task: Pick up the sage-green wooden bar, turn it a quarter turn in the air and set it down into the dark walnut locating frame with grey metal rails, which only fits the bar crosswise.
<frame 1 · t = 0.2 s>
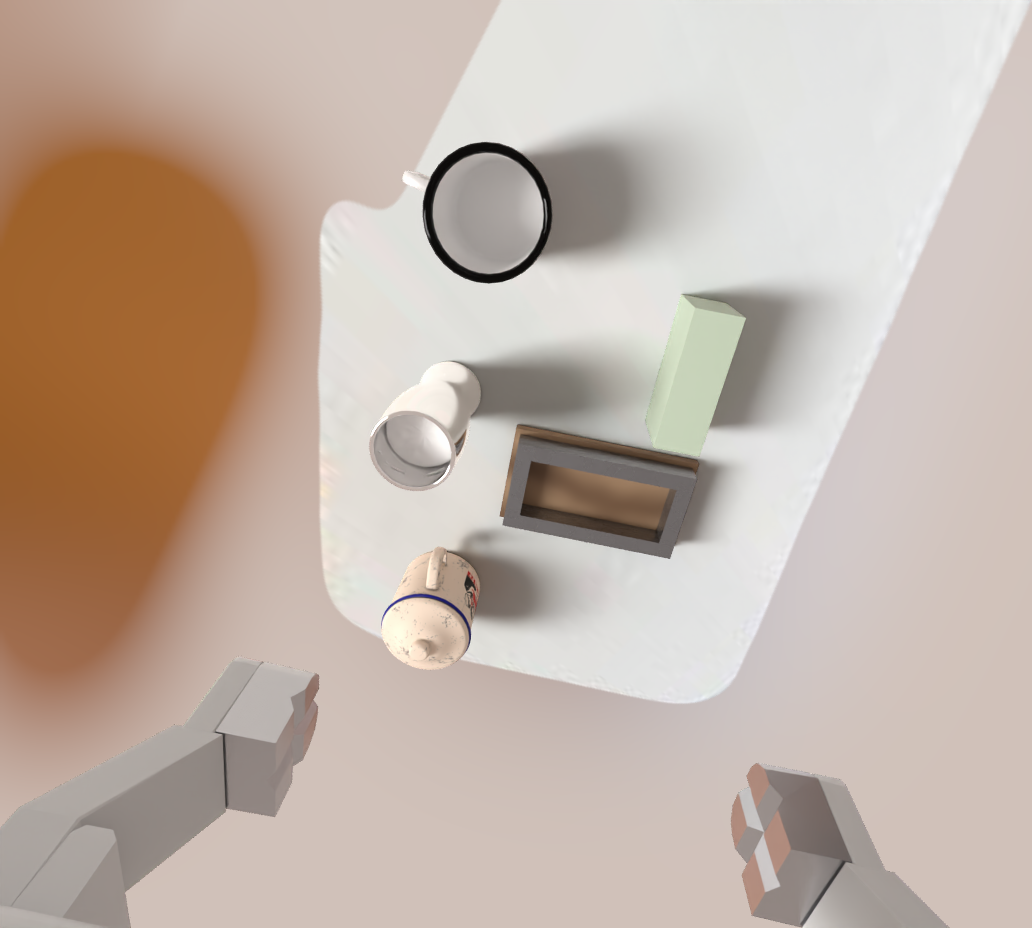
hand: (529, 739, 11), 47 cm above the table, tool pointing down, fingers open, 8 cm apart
teacup with lid: (444, 570, 67), on the table
white tumbler: (450, 390, 58), on the table
mug: (487, 206, 51), on the table
locating frame: (595, 486, 61), on the table
green bar: (683, 363, 55), on the table
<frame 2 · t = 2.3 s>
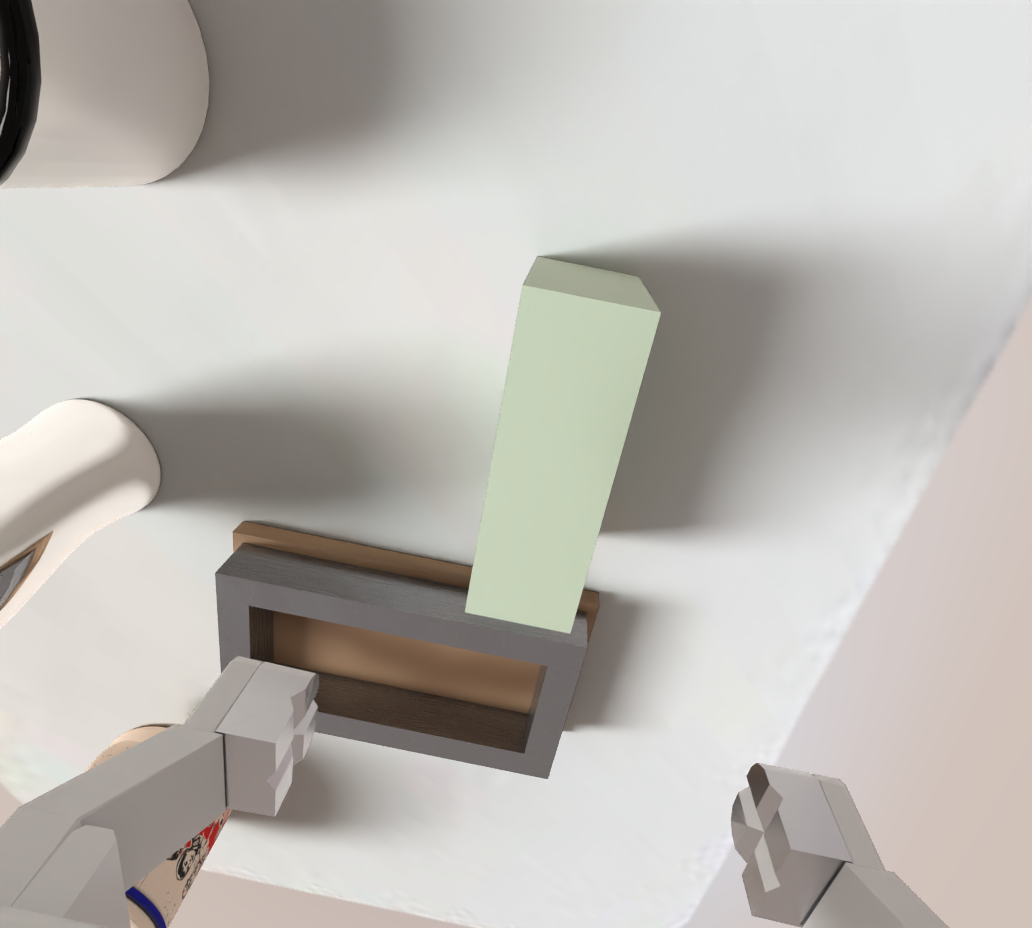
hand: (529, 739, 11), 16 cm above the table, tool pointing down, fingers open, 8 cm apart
teacup with lid: (176, 752, 38), on the table
white tumbler: (103, 456, 29), on the table
mug: (70, 44, 22), on the table
locating frame: (410, 633, 32), on the table
green bar: (556, 408, 26), on the table
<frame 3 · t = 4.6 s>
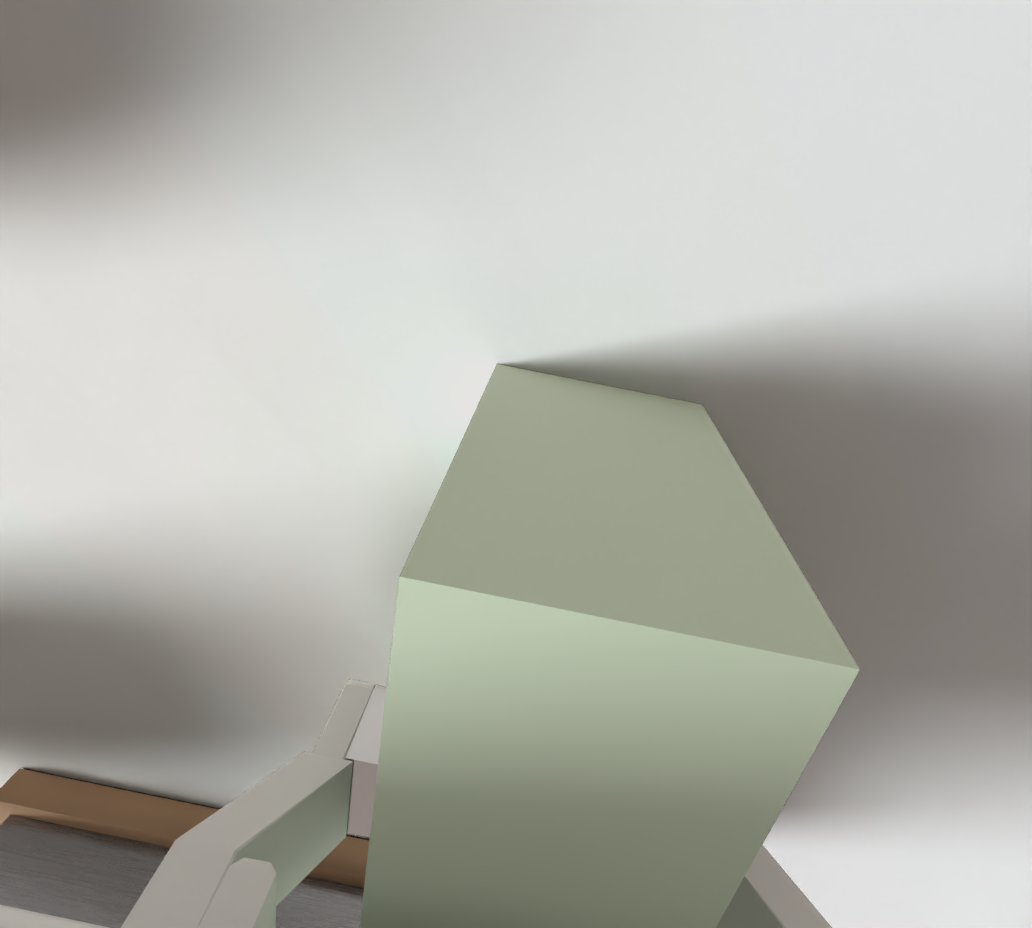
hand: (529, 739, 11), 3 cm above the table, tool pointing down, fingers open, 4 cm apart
locating frame: (310, 924, 20), on the table
green bar: (539, 627, 14), on the table
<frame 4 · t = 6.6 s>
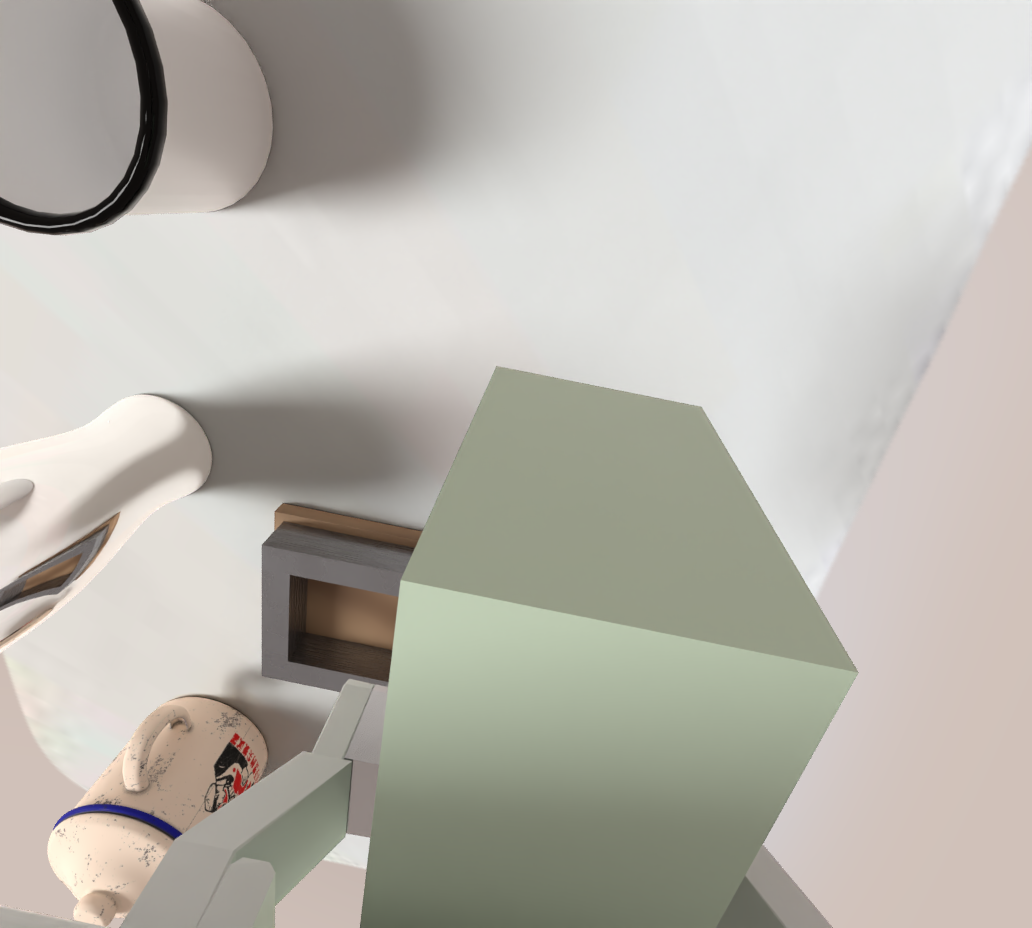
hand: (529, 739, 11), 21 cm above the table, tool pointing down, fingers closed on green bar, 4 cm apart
teacup with lid: (210, 723, 42), on the table
white tumbler: (161, 445, 33), on the table
mug: (157, 97, 26), on the table
locating frame: (428, 605, 36), on the table
green bar: (538, 628, 14), point 17 cm above the table, touching gripper
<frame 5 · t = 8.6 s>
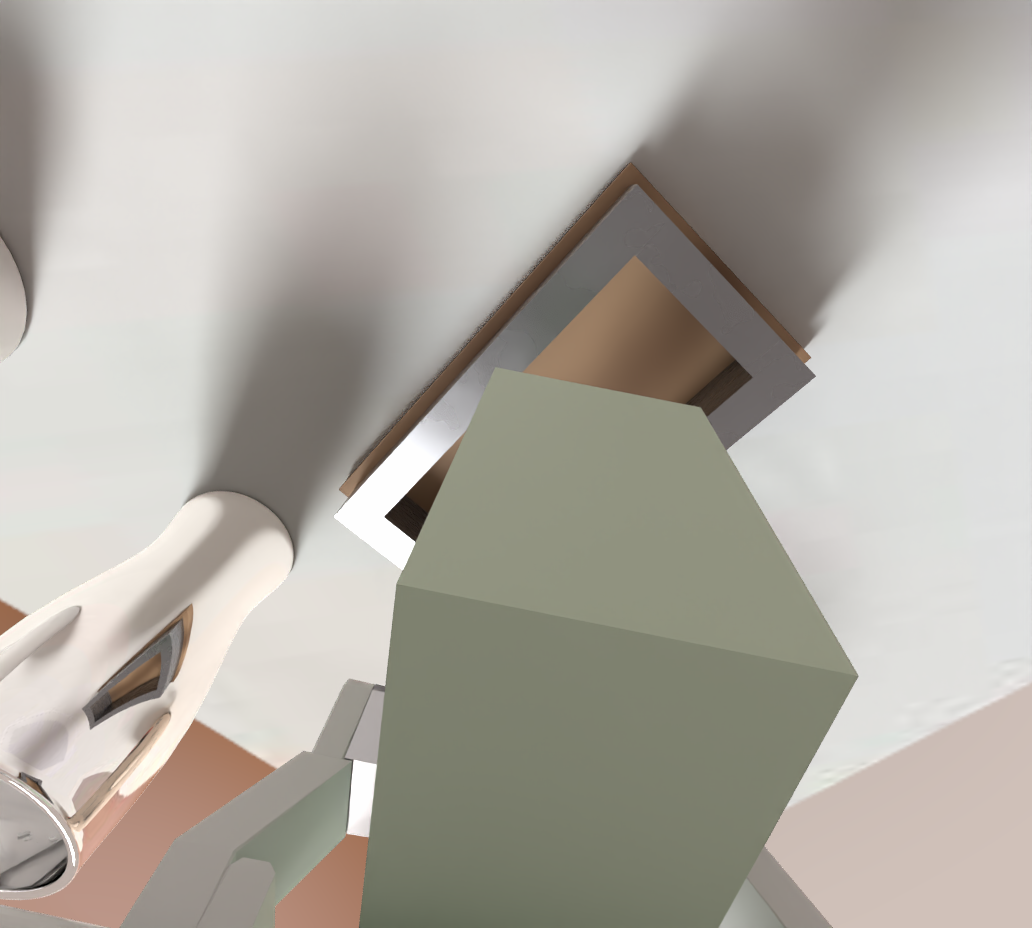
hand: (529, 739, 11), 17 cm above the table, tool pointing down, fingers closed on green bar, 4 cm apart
white tumbler: (238, 541, 31), on the table
locating frame: (555, 420, 26), on the table
green bar: (538, 630, 14), point 13 cm above the table, touching gripper
when the fingers open (5 cm above the table, at t = 11.9 s): green bar drops 1 cm, resting on locating frame.
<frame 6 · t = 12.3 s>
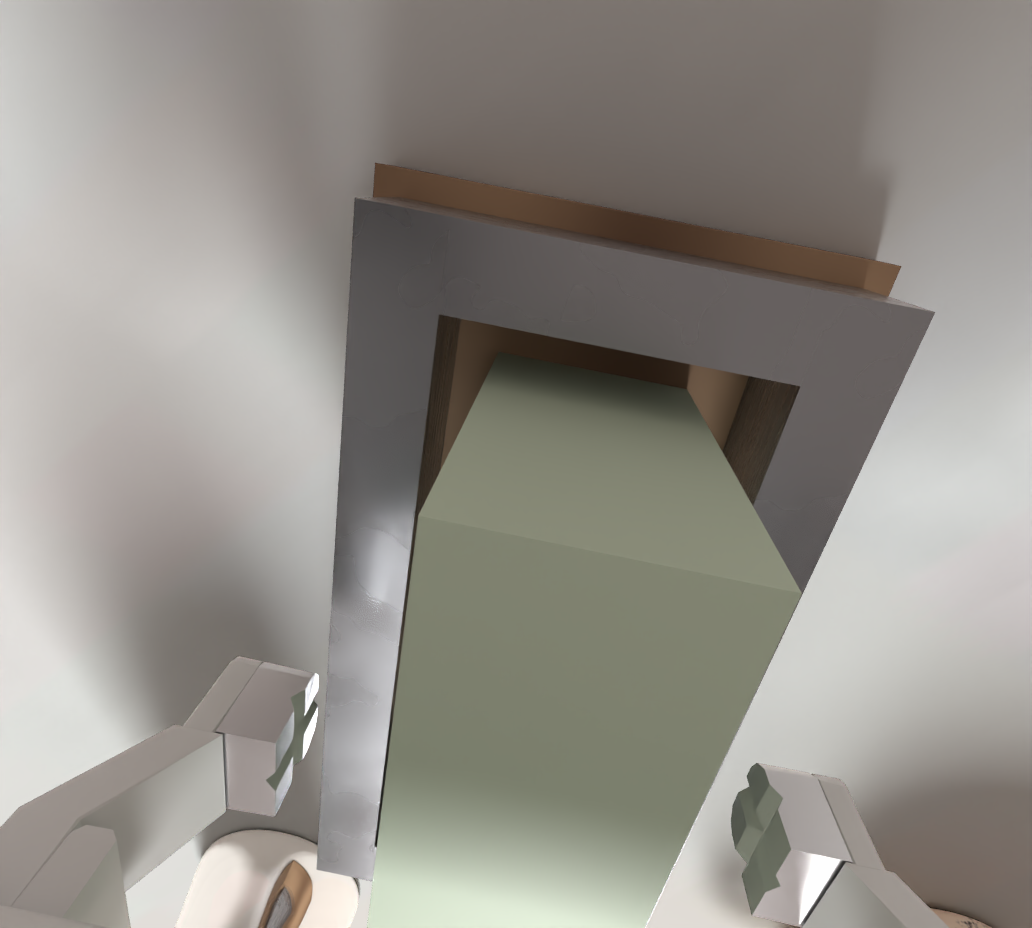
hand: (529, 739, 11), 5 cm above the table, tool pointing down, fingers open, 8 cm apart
white tumbler: (283, 875, 23), on the table
locating frame: (545, 574, 16), on the table
green bar: (537, 599, 15), point 1 cm above the table, touching locating frame
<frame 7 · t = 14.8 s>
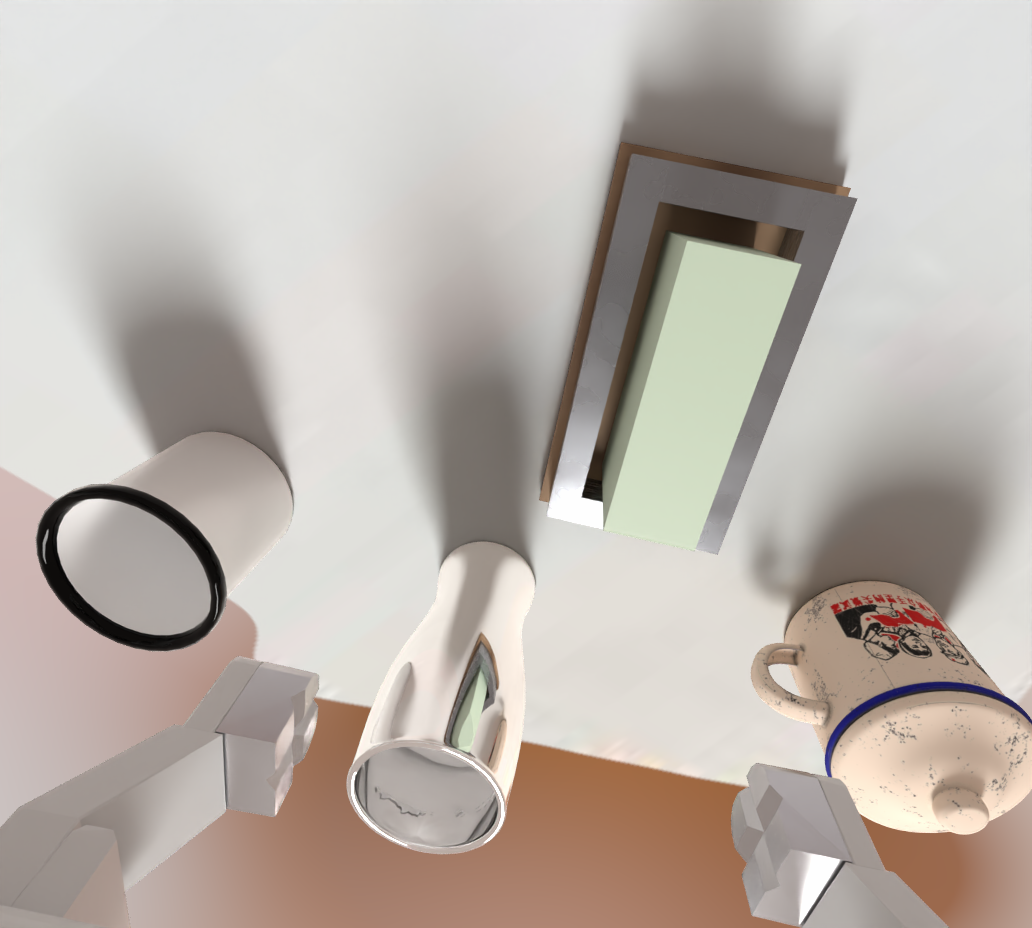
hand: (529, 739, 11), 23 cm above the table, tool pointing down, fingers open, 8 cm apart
teacup with lid: (832, 630, 36), on the table
white tumbler: (487, 580, 38), on the table
mug: (228, 507, 38), on the table
locating frame: (671, 360, 31), on the table
green bar: (671, 366, 30), point 1 cm above the table, touching locating frame
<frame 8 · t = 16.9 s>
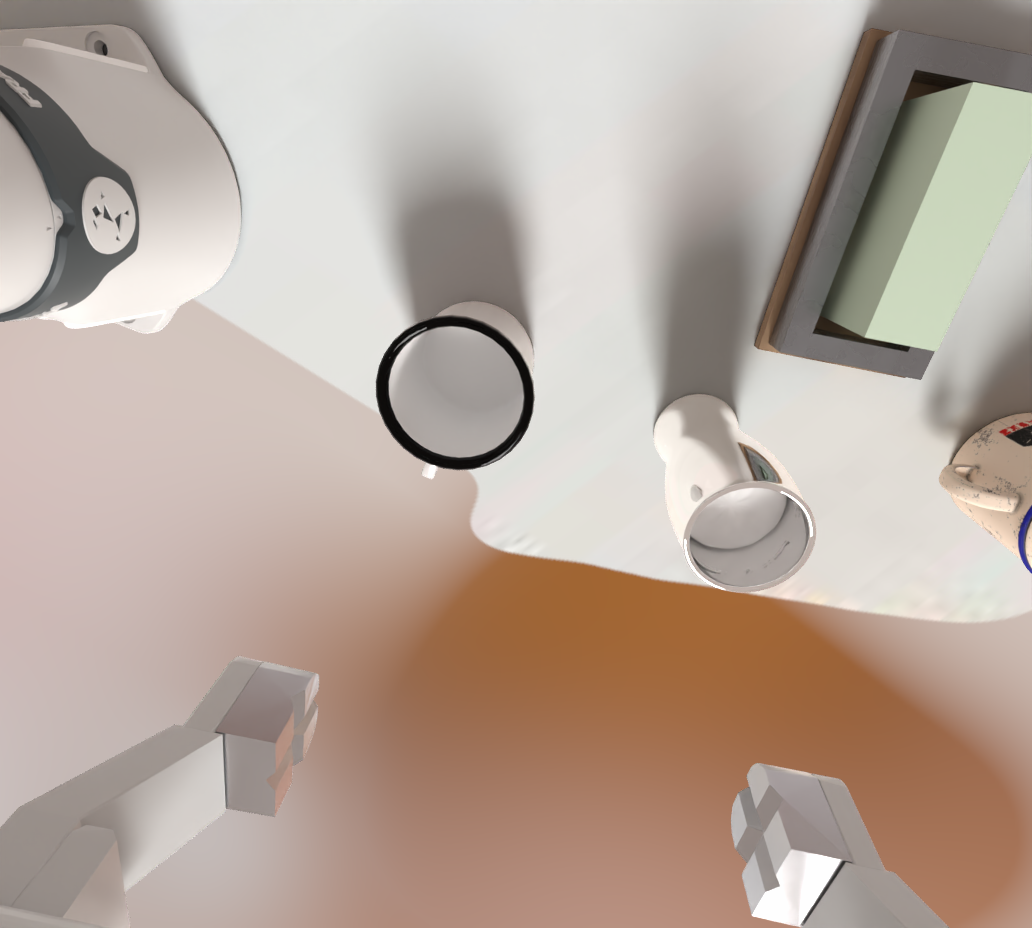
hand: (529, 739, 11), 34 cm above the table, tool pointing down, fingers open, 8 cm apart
teacup with lid: (988, 463, 43), on the table
white tumbler: (694, 431, 44), on the table
mug: (471, 374, 44), on the table
locating frame: (882, 220, 37), on the table
green bar: (887, 221, 36), point 1 cm above the table, touching locating frame
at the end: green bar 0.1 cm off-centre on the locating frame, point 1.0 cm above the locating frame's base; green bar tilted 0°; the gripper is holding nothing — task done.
